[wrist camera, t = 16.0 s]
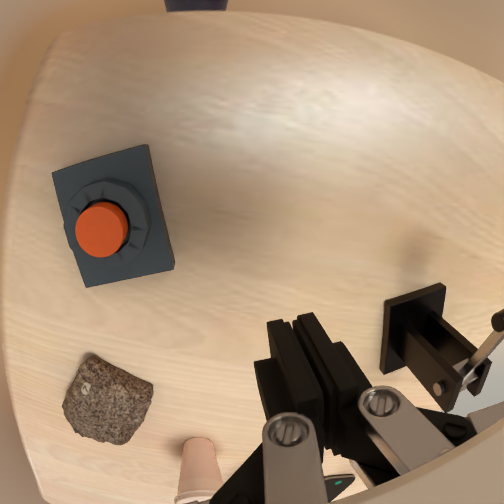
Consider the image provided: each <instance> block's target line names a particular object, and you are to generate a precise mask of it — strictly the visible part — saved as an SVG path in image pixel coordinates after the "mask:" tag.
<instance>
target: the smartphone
mask: <svg viewBox="0 0 504 504" xmlns="http://www.w3.org/2000/svg"><path fill="white" fill-rule="evenodd" d="M354 480H355V476H354V475H341V476H329V477H325V478H324V481H325V486H326V492H327V498H328V503H330V502H331V501H332V500H333V499H334V498H336V497H337V496H338V495H339V494H340V493H341V492H343V491H344V490H345V489H346V488H347V487H348V486H349V485H350V484H351V483H352V482H353V481H354Z"/></svg>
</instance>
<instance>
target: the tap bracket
mask: <svg viewBox="0 0 504 504" xmlns="http://www.w3.org/2000/svg"><path fill="white" fill-rule="evenodd" d="M445 294H446V286H445V285H443V284H442V283H438V284H435V285H432V286H429V287H426V288H424V289H421V290H418V291H415V292H412V293H409V294H405V295H402V296H399V297H396V298H393V299H390V300H387V301H385V312H384V327H383V340H382V351H381V361H380V370H381V372H382V373H383V374H384V375H385V374H387V373H390V372H393V371H395V370H398V369H400V368H403V367H405V366H407V367H408V368H409V369H410V370H411V372H412V373H413V374H414V375H415V376H416V378H417V379H418V380H419V381H420V383H421V384H422V385H423V386H424V387H425V389H426V390H427V391H428V392H429V394H430V395H431V396H432V397H433V398H434V400H435V401H436V402H437V403H438V405H439V406H440V407H441V408H442V410H443V411H444V412H445V413H447V412H449V411H451V410H452V409H453V407H454V405H455V402H456V400H457V397H458V394H459V392H460V389H461V386H462V383H463V380H464V378H463V377H462V376H461V375H460V374H459V373H458V372H457V371H456V370H455V369H454V368H453V367H452V366H454V365H456V364H458V363H459V362H461V361H463V360H465V359H467V358H468V359H470V358H471V357H472V356H473V355H474V353H475V352H476V351H477V350H478V349H477V348H476V347H475V346H474V345H473V344H472V343H470V342H469V341H468V340H467V339H466V338H465V337H464V336H463V335H461V334H460V333H459V332H458V331H457V330H456V329H455V328H453V327H452V326H451V325H450V324H449V323H448V322H446V321H445V320H444V319H443V318H442V314H443V308H444V301H445ZM491 364H492V362H491V361H490V360H489V359H488V358H486V359H485V360H484V361H483V362H482V363H481V364H480V365H479V366H478V367H477V369H476V370H475V372H476V374H477V376H478V378H477V379H476V380H475V381H474V382H473V383H472V384H471V385H469V386H468V387H467V388H466V389H468V391H469V392H470V393H471V394H472V395H473V396H476V395H478V394H479V393H480V392H481V390H482V387H483V385H484V382H485V380H486V377H487V375H488V372H489V369H490V366H491Z"/></svg>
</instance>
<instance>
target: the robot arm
mask: <svg viewBox="0 0 504 504" xmlns="http://www.w3.org/2000/svg"><path fill="white" fill-rule="evenodd" d="M292 325H293V329H292V327H291V325H290V323H289V322H283V320H282V319H279V320H274V321H269V322H267V331H268V338H269V346H270V354H271V358H269V359H264V360H259V361H254V368H255V374H256V379H257V384H258V389H259V393H260V397H261V401H262V405H263V409H264V412H265V416H266V420H267V422H266V424H265V425H264V427H263V431H262V443H261V444H260V445H259V446H258V448H257V449H256V450H255V451H254V452H253V453H252V454H251V456H250V457H249V458H248V459H247V460H246V461H245V462H244V463H243V464H242V465H241V467H240V468H239V469H238V470H237V471H236V472H235V473H234V474H233V475H232V476H231V477H230V478H229V479H228V480H227V481H226V483H225V484H224V485H223V486H222V487H221V488H220V489H219V490H218V491H217V492H216V493H215V494H214V495H213V496H212V498H211V499H208V500H205V501H201V502H198V501H197V500H196V501H192V502H189V503H185V504H504V402H501V403H498V404H496V405H493V406H490V407H487V408H484V409H481V410H478V411H476V412H472V413H469V414H468V415H467V417H465V418H464V417H462V416H459V415H453V414H448V413H442V412H438V411H433V410H428V409H423V408H418V407H415V406H414V405H413V404H412V403H411V402H410V401H409V400H408V399H407V398H406V397H405V396H404V395H403V394H402V393H401V392H399V391H398V390H397V389H395V388H392V387H389V386H375V387H372V385H371V384H370V382H369V381H368V379H367V378H366V376H365V375H364V373H363V372H362V370H361V369H360V367H359V366H358V364H357V363H356V361H355V360H354V358H353V357H352V355H351V354H350V352H349V351H348V349H347V348H346V346H345V345H344V344H343V342H341V341H339V342H336V343H332V342H331V340H330V338H329V337H328V335H327V334H326V332H325V330H324V329H323V327H322V326H321V324H320V323H319V321H318V319H317V318H316V316H315V315H314V313H313V312H311V313H307V314H302V315H298V316H297V320H293V322H292ZM324 447H325V449H326V450H328V449H331V450H332V452H333V455H334V456H336V455H339V454H341V456H342V457H344V458H347V459H349V461H350V463H351V466H352V467H353V468H354V470H355V471H356V473H357V474H358V475H359V477H360V478H361V480H362V481H363V482H364V484H365V485H366V487H367V488H368V490H365V491H362V492H360V493H357V494H354V495H351V496H348V497H345V498H342V499H339V500H336V501H333V502H330V503H328V498H327V492H326V486H325V481H324V475H323V470H322V463H323V453H324Z"/></svg>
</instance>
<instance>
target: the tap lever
mask: <svg viewBox="0 0 504 504" xmlns="http://www.w3.org/2000/svg"><path fill="white" fill-rule="evenodd" d="M491 323H492V327H493V329H494V331H493V332H492V333H491V334H490V336H489V337H488V338H487V339H486V340H485V342H484V343H483V344H482V345H481V346H480V348H479V349H478V350H477V351H476V352H475V353H474V355H473V356H472V357H471V358H470V359H468V358H467V359H465V360H463V361H461V362H459V363H458V364H456V365H454V366H452V367H453V368H454V369H455V370H456V371H457V372H458V373H459V374H460V375H461V376H462V377H463V378H464V380H463V383H462V386H461V389H460V392H461V391H463V390H465V389H466V388H467V387H468V386H469V385H471V384H472V383H473V382H474V381H475V380H476V379H477V378H478V376H477V374H476V372H475V370H476V369H477V367H478V366H479V365H480V364H481V363H482V362H483V361H484V360H485V359H486V358H487V357H488V356H489V355H490V354H491V353H492V351H493V350H494V349H495V348H496V347H497V346H498V345H499V344H500V342H501V341H502V340H503V339H504V309H502V310H501V311H499V312H497V313H495V314H494V315H493V316H492V319H491Z"/></svg>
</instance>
